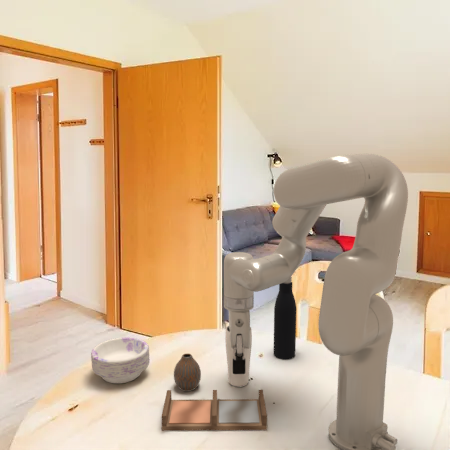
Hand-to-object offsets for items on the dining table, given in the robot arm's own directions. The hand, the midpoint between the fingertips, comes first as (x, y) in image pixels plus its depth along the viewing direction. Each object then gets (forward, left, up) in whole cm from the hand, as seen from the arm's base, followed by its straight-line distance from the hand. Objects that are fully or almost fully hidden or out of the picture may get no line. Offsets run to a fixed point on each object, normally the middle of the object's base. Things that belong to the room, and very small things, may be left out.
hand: (238, 366), depth 127 cm
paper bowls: (+22, +23, -5) cm, 32 cm away
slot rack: (-9, +14, -5) cm, 17 cm away
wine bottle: (+5, -21, -5) cm, 22 cm away
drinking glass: (0, 0, -5) cm, 5 cm away
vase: (+6, +12, -5) cm, 14 cm away
